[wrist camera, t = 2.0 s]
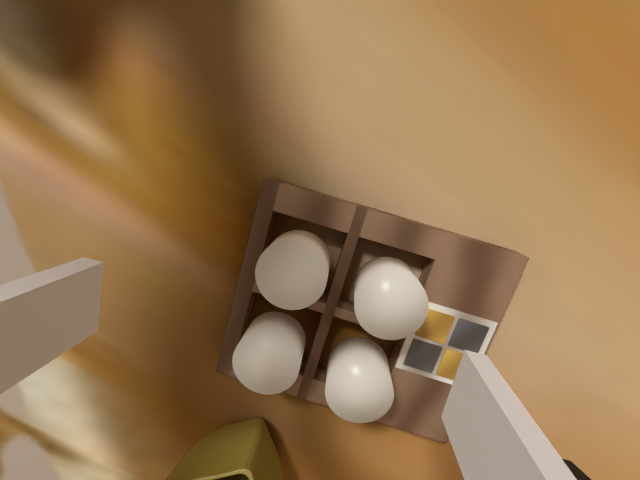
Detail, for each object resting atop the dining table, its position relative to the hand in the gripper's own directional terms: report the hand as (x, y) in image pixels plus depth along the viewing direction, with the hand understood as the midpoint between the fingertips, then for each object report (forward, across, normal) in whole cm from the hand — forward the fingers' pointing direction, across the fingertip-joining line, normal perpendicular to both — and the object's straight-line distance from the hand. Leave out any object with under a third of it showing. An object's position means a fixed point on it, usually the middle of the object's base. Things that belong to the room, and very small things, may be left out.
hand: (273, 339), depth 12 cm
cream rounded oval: (+18, +6, -11) cm, 22 cm away
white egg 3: (+18, +7, -3) cm, 20 cm away
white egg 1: (+18, -1, -3) cm, 18 cm away
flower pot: (+22, -3, -25) cm, 34 cm away
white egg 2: (+18, -2, -11) cm, 21 cm away
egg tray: (+21, +5, -7) cm, 23 cm away
